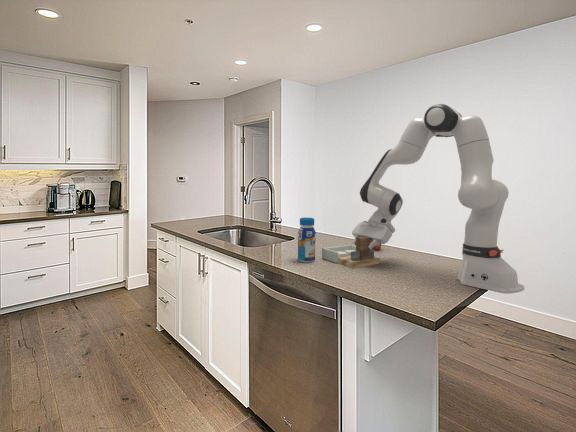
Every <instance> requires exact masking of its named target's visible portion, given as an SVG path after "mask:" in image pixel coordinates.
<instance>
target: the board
mask: <svg viewBox="0 0 576 432" xmlns="http://www.w3.org/2000/svg"><path fill="white" fill-rule="evenodd" d="M380 262H381V259H380V257H375V256H374V258H372V259H369V260H363V261H360V260H359V261H351V256H348V257H341V258H338V263H337V264H339V265H342V266H345V267H348V268H351V269H357V268H362V267H363V268H364V267H367V266H368V267H370V266H374V265H380Z"/></svg>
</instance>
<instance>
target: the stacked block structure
mask: <svg viewBox="0 0 576 432" xmlns="http://www.w3.org/2000/svg"><path fill="white" fill-rule="evenodd" d="M368 244H370V238H369V237H364V236H363V237H356V245H355V246H356V251H352V252H351V261H359V260H360V261H363V260H369V259H372V258H374V257H375V251H374V249H368V248H367V246H368Z"/></svg>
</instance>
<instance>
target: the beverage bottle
mask: <svg viewBox="0 0 576 432" xmlns="http://www.w3.org/2000/svg"><path fill="white" fill-rule="evenodd" d="M299 225H300V228H299V229H298V231H297V232H298V233H297V234H298V236H297V261H298V262H301V263H313V262H315V261H316V240H317V238H316V234H317V232H316V229H315V228H314V226H315V218H314V217H300V218H299Z"/></svg>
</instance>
